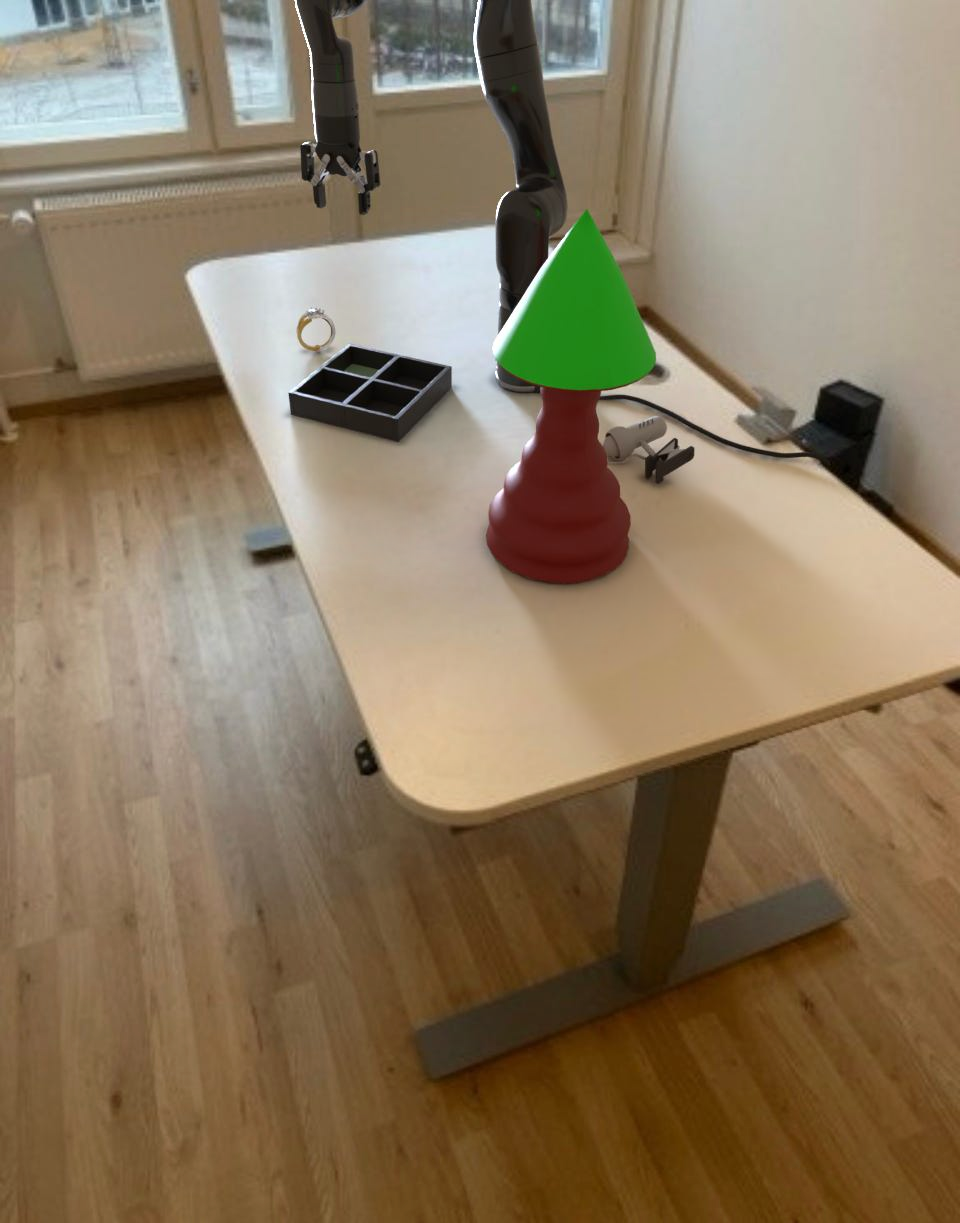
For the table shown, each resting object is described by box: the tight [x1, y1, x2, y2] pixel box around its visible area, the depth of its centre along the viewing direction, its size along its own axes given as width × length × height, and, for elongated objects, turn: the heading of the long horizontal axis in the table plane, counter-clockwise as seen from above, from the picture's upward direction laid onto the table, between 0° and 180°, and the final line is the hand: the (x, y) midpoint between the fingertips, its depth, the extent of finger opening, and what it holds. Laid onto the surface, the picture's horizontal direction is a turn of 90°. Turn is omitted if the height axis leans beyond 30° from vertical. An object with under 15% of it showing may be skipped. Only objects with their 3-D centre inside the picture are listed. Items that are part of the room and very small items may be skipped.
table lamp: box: [485, 208, 657, 584], centre depth 120 cm, size 20×20×45 cm
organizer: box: [287, 343, 453, 443], centre depth 162 cm, size 20×20×4 cm
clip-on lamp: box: [602, 415, 695, 485], centre depth 147 cm, size 12×6×18 cm
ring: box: [296, 307, 336, 353], centre depth 174 cm, size 7×3×8 cm, turn 106°
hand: (342, 210), depth 171 cm, fingers open, 8 cm apart
